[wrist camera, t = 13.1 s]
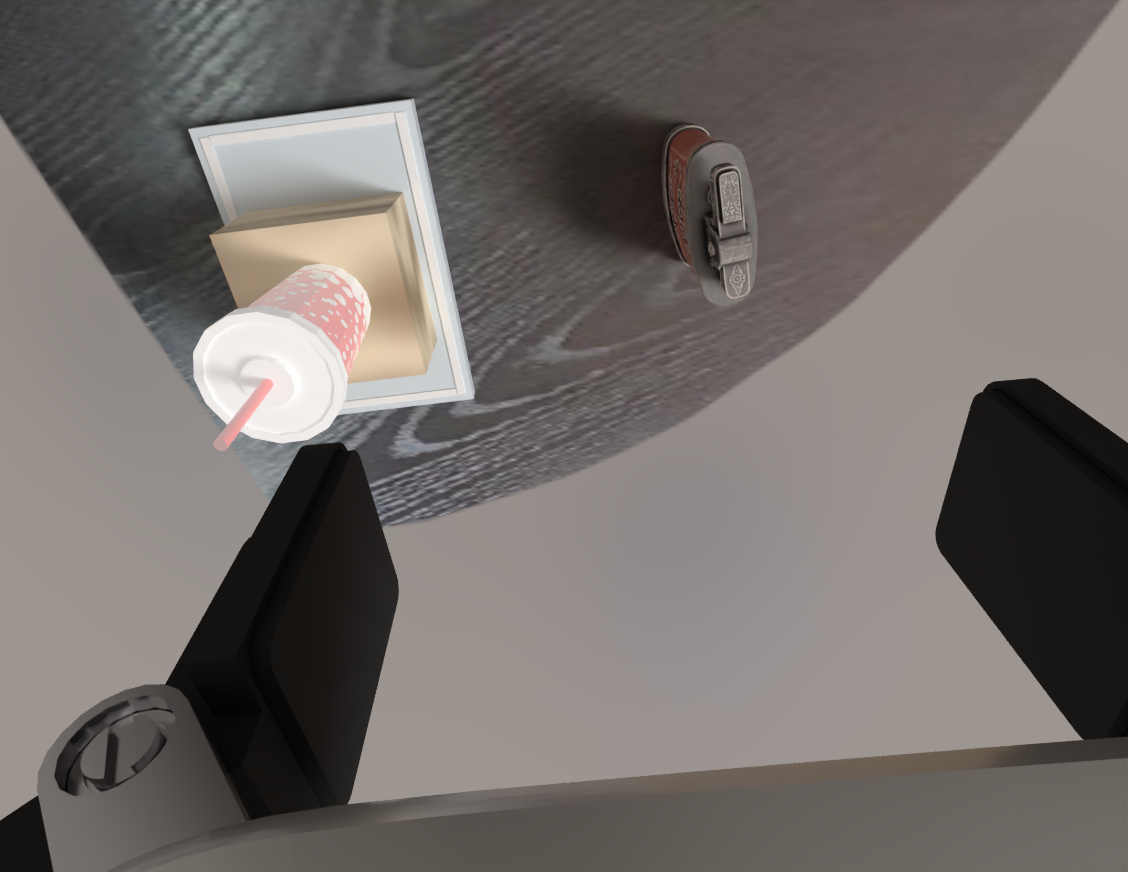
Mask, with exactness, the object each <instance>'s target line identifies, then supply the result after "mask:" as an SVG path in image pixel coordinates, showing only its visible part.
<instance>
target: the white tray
mask: <svg viewBox="0 0 1128 872" xmlns="http://www.w3.org/2000/svg"><path fill="white" fill-rule="evenodd" d="M188 130H189V133H190V136H191V138H192V141H193V143H194V146H195V149H196V151H197V154H198V157H199V159H200V162H201V165H202V167H203V170H204V173H205V175H206V178H207V181H208V183H209V186H210V188H211V191H212V194H213V196H214V199H215V202H216V204H217V207H218V210H219V212H220V215H221V218H222V220H223V223H224V226H225V225H227V224H228V223H230V222H232V221H233V220H235V219H236V218H238V217H240V216H241V215H243V214H245V213H246V212H252V211H260V210H268V209H276V208H284V207H292V206H299V205H307V204H315V203H323V202H331V201H339V200H346V199H354V198H362V197H370V196H378V195H385V194H393V193H401V192H403V194H404V199H405V203H406V207H407V211H408V216H409V220H410V224H411V229H412V233H413V237H414V242H415V246H416V250H417V255H418V259H419V263H420V268H421V272H422V276H423V280H424V285H425V289H426V293H427V298H428V302H429V306H430V311H431V315H432V319H433V324H434V328H435V332H436V337H437V342H436V345H435V348H434V351H433V354H432V357H431V360H430V363H429V367H428V370H427V373H426V374H424V375H416V376H407V377H399V378H391V379H382V380H374V381H366V382H357V383H349V384H347V390H346V399H345V401H344V403H343V407H342V409H341V410H340V412H339V413H338V414H337V415H341V414H350V413H358V412H367V411H375V410H383V409H392V408H400V407H409V406H417V405H426V404H434V403H443V402H451V401H459V400H468V399H474V394H475V390H474V386H473V381H472V376H471V371H470V366H469V362H468V357H467V352H466V347H465V342H464V338H463V333H462V328H461V323H460V318H459V314H458V309H457V304H456V299H455V295H454V290H453V285H452V280H451V275H450V271H449V266H448V261H447V256H446V251H445V247H444V242H443V237H442V232H441V227H440V223H439V218H438V213H437V208H436V204H435V199H434V194H433V189H432V184H431V180H430V175H429V170H428V165H427V160H426V156H425V151H424V146H423V141H422V136H421V132H420V127H419V122H418V117H417V113H416V108H415V103H414V98H413V99H405V100H398V101H390V102H382V103H375V104H367V105H360V106H352V107H344V108H337V109H329V110H322V111H314V112H306V113H299V114H291V115H284V116H276V117H268V118H261V119H253V120H246V121H238V122H230V123H223V124H215V125H208V126H200V127H194V128H191V129H188Z"/></svg>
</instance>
